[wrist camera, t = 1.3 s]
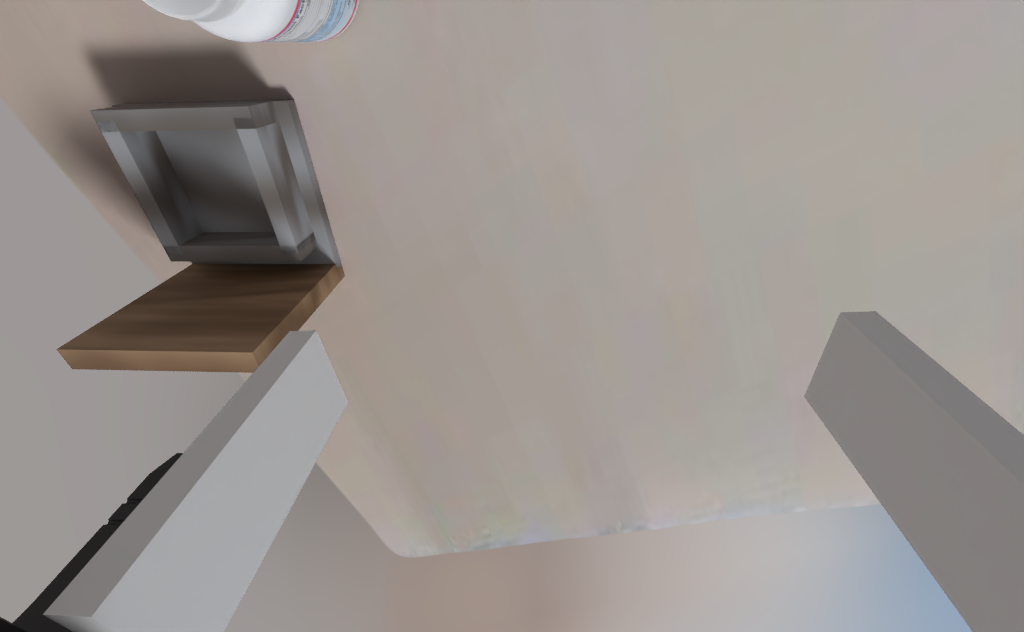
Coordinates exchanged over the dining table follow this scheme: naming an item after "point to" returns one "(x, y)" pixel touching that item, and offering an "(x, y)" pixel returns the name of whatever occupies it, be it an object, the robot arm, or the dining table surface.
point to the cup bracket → (216, 236)
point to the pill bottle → (265, 18)
